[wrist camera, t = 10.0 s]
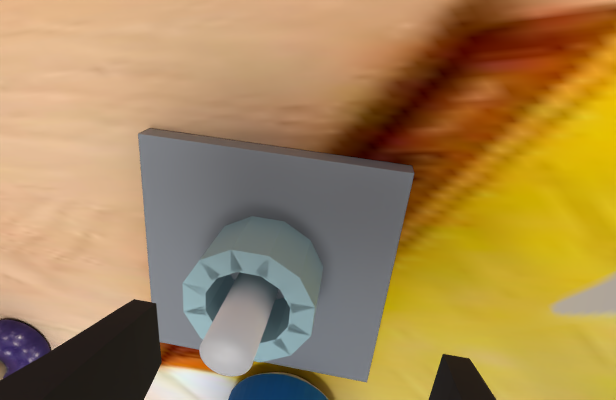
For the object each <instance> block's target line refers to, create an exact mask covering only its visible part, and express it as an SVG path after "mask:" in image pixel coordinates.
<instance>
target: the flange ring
mask: <svg viewBox="0 0 616 400" xmlns="http://www.w3.org/2000/svg"><path fill="white" fill-rule="evenodd" d="M235 272H240V273H245V274H251V275H257V276H261V277H262V278H264V279H265V280H267V281H268V282H270V283H271V284H273V285H274V286H276V287H277V288H278V289H280V290H281V292H282V294H283V296H284V298H281V299H277V300H275V302H274V305H273V308H272V310H271V313H270V316H269V319H268V322H267V324H266V327H265V330H264V333H263V336H262V338H261V341H260V344H259V347H258V350H257V353H256V355H255V358H254V361H257V362H265V361H269V360H273V359H278V358H282V357H286V356H291V355H292V354H293V353H294V352H295V351H296V350H297V349H298V348H299V347H300V346H301V345H302V344H303V343H304V342H305V341H306V340H307V339H308V338H309V337H310V336H311V334H312V329H313V324H314V319H315V314H316V308H317V303H318V298H319V293H320V287H321V280H322V273H323V265H322V263H321V261H320V259H319V256H318V254H317V252H316V250H315V248H314V246H313V244H312V242H311V240H310V239H308V238H307V237H305V236H304V235H303V234H301V233H300V232H298V231H297V230H296V229H294V228H293V227H291V226H290V225H289V224H287V223H286V222H285V221H279V220H273V219H267V218H261V217H255V216H251V217H248V218H246V219H243V220H240V221H237V222H234V223H232V224H229V225H226V226H224V228H223V229H222V230H221V232H220V233H219V234H218V236H217V237H216V238H215V240H214V241H213V242H212V244H211V245H210V247H209V248H208V249H207V251H206V252H205V253H204V255H203V256H202V257H201V259H200V260H199V261H198V263H197V264H196V266H195V267H194V268H193V270H192V271H191V272H190V274H189V275H188V277H187V278H186V279H185V281H184V282H183V312H184V313H185V315H186V316H187V318H188V319H189V321H190V323H191V324H192V326H193V327H194V329H195V330H196V332H197V333H198V335H199V336H200V338H201V339H204V337H205V335H206V333H207V332H208V330H209V328H210V326H211V324H212V322H213V320H214V319H215V317H216V315H217V313H218V311H219V309H220V308H221V306H222V304H223V302H224V300H225V298H226V296H227V295H228V293H229V291H230V289H231V287H232V285H233V283H234V282H235V281H234V280H233V278H232V276H231V274H232V273H235Z"/></svg>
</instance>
